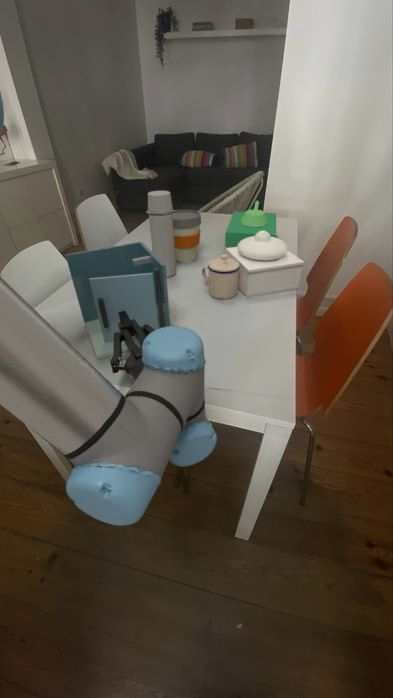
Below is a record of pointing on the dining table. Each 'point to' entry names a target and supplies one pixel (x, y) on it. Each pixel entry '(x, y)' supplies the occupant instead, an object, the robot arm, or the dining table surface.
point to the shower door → (124, 301)
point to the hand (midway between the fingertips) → (122, 316)
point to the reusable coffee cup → (186, 234)
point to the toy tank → (249, 225)
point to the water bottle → (162, 228)
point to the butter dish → (265, 265)
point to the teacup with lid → (222, 277)
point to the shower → (115, 264)
